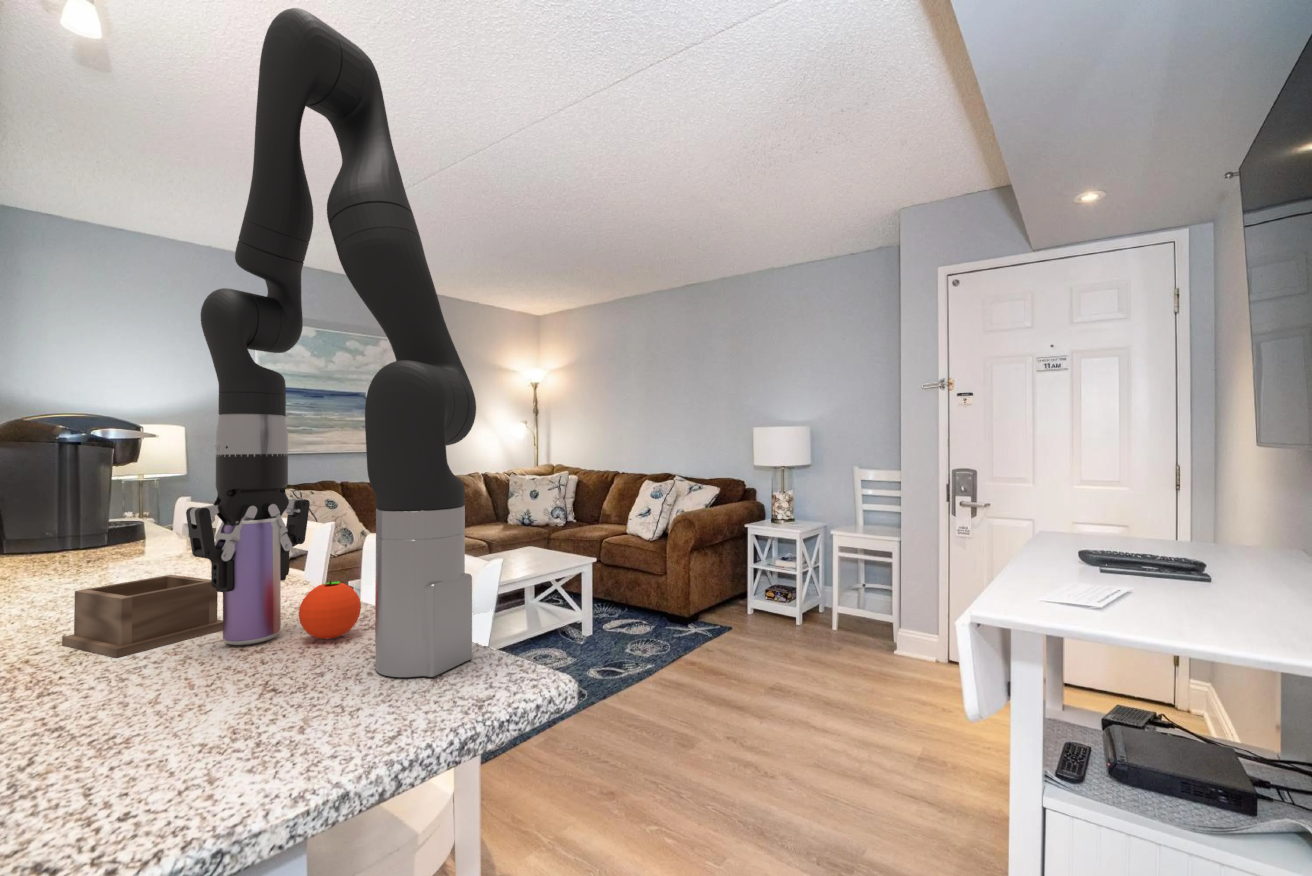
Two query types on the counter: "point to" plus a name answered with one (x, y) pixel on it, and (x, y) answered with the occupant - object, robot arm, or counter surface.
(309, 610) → the clementine
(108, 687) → the counter surface
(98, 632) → the open wooden box
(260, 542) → the beverage can
